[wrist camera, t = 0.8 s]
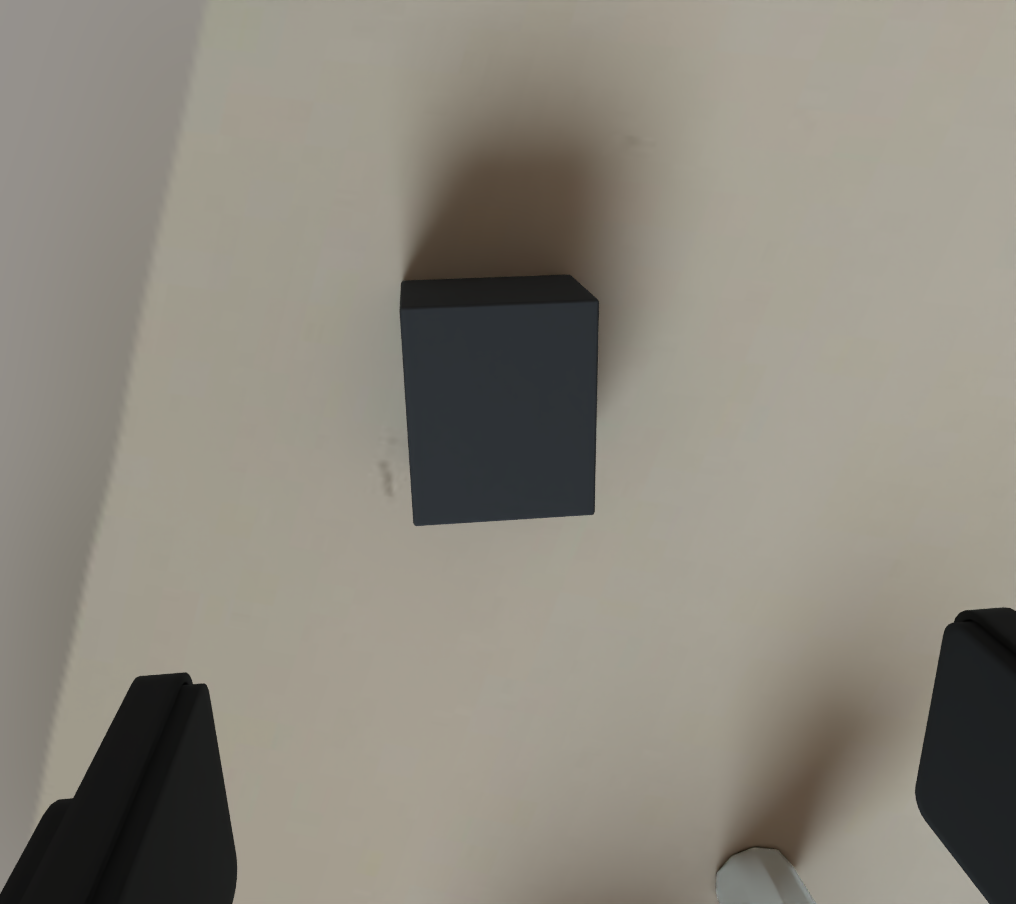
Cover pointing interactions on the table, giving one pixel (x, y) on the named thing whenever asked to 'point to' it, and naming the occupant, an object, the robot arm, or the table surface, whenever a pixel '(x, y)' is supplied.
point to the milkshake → (760, 879)
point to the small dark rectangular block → (500, 397)
